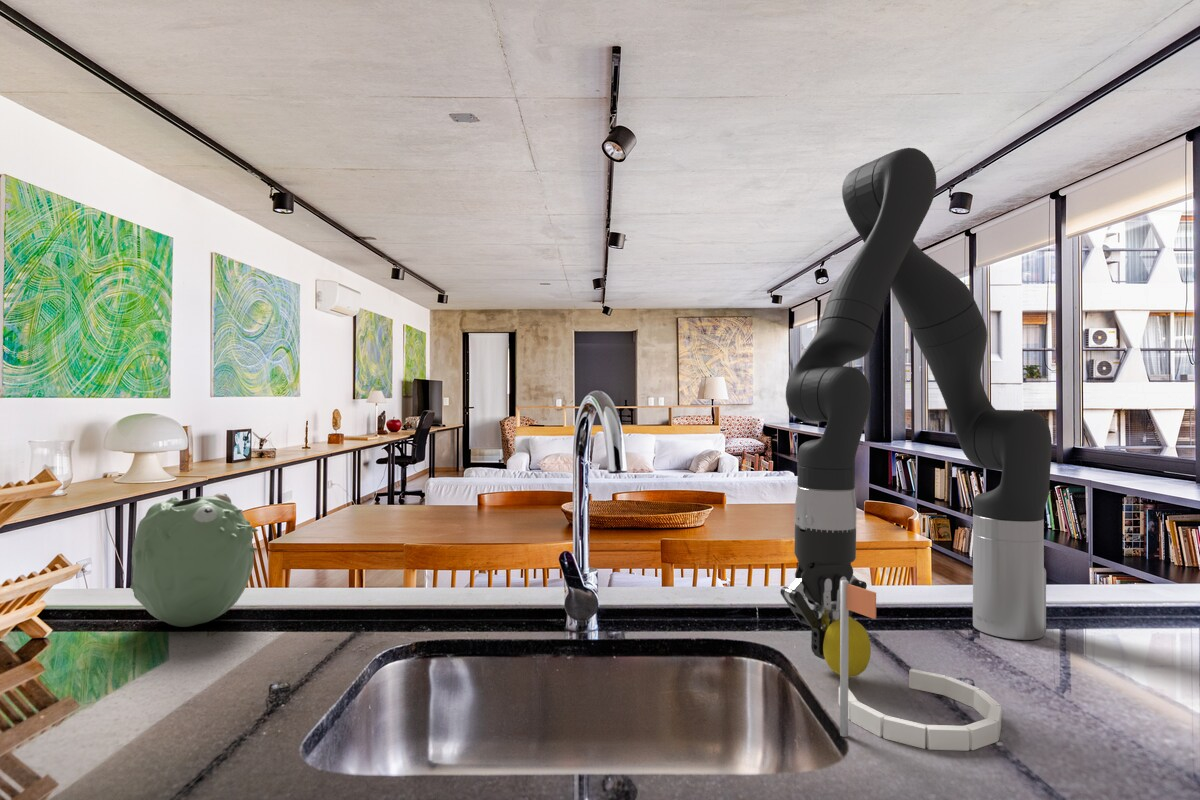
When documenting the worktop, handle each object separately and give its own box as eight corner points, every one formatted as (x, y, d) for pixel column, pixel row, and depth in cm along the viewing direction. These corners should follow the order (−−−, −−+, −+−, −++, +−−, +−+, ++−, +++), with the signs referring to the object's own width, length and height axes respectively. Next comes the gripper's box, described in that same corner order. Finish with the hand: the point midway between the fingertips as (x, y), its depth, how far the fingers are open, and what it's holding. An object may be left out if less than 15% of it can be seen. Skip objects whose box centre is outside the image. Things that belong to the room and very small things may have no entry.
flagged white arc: (922, 681, 86) (922, 552, 86) (1033, 729, 74) (1034, 578, 73) (802, 713, 77) (802, 569, 77) (906, 773, 65) (906, 601, 65)
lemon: (873, 692, 83) (877, 626, 83) (825, 687, 84) (828, 622, 83) (863, 672, 88) (867, 610, 88) (818, 667, 89) (821, 606, 89)
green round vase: (172, 606, 116) (172, 487, 116) (279, 610, 114) (279, 488, 114) (94, 638, 100) (94, 500, 100) (216, 644, 98) (216, 503, 98)
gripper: (841, 514, 96) (840, 639, 96) (765, 520, 90) (763, 654, 90) (885, 523, 89) (883, 658, 89) (806, 531, 83) (804, 676, 83)
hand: (823, 656), depth 89 cm, fingers closed
